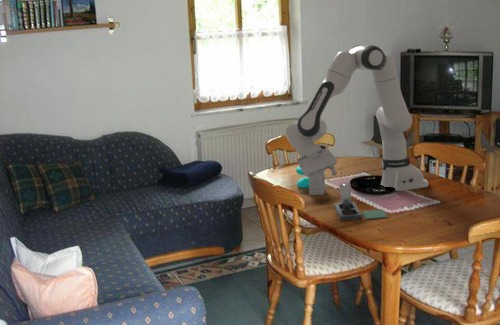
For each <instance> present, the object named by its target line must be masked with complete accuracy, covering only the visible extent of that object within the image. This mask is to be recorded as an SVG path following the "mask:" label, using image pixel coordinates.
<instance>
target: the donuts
mask: <svg viewBox="0 0 500 325" xmlns="http://www.w3.org/2000/svg"><path fill="white" fill-rule="evenodd" d="M295 171H296V173H297V174H298V175H300V176H305V174H304V173H303V171H302V170H301V168H300V166H299V165H298V166H297V167H296V169H295ZM296 186H297V187H298V188H300V189H309V177H301V178H300V179H298V180H297V182H296Z"/></svg>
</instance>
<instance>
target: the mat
mask: <svg viewBox="0 0 500 325" xmlns="http://www.w3.org/2000/svg"><path fill="white" fill-rule="evenodd" d="M361 214H362V216H363V217H364V219H365V221H366V220H367V221H368V220H378V219H388V216H387V214H386V212H385V211H384V209H382V208H381V209H380V208H379V209H372V210H371V209H370V210H361Z"/></svg>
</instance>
